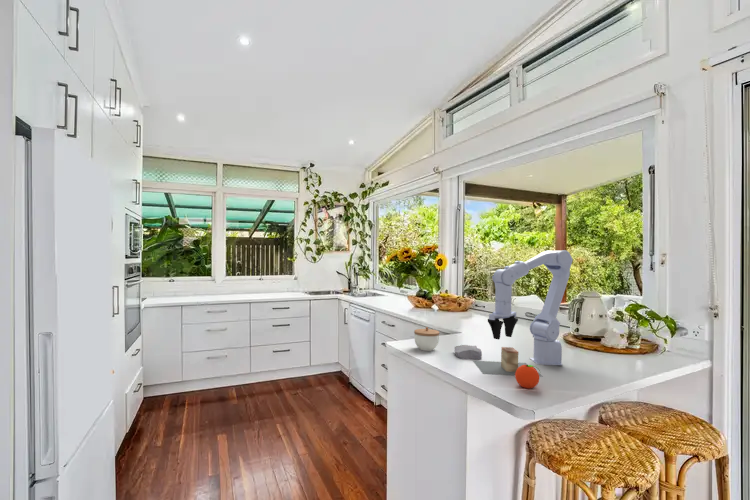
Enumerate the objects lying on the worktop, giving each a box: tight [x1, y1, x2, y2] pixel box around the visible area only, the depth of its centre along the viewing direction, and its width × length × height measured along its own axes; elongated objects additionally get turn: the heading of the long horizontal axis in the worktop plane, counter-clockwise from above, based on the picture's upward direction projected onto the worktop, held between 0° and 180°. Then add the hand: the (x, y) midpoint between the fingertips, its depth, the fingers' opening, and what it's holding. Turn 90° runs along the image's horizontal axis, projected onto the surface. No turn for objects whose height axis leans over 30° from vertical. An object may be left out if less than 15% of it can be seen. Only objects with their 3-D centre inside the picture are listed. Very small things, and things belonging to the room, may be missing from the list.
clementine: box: [514, 364, 541, 389], centre depth 113 cm, size 8×7×7 cm
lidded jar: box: [413, 326, 440, 352], centre depth 157 cm, size 11×11×9 cm
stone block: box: [454, 344, 483, 360], centre depth 148 cm, size 12×5×10 cm
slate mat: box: [472, 360, 544, 378], centre depth 132 cm, size 20×16×1 cm
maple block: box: [500, 346, 519, 372], centre depth 131 cm, size 4×6×7 cm, turn 178°
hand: (502, 337), depth 136 cm, fingers open, 7 cm apart
